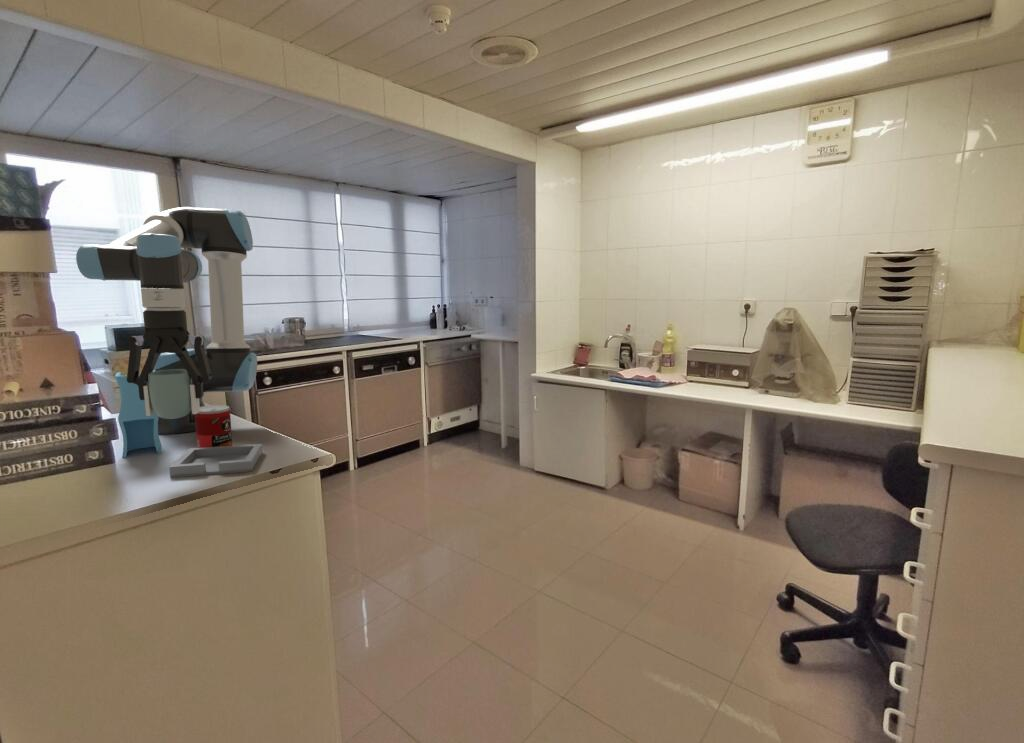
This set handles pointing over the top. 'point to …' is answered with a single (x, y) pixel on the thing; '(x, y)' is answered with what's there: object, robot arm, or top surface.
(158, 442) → the blue wavy stand
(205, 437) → the canned food
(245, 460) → the grey square tray
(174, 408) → the cup
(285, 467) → the top surface
